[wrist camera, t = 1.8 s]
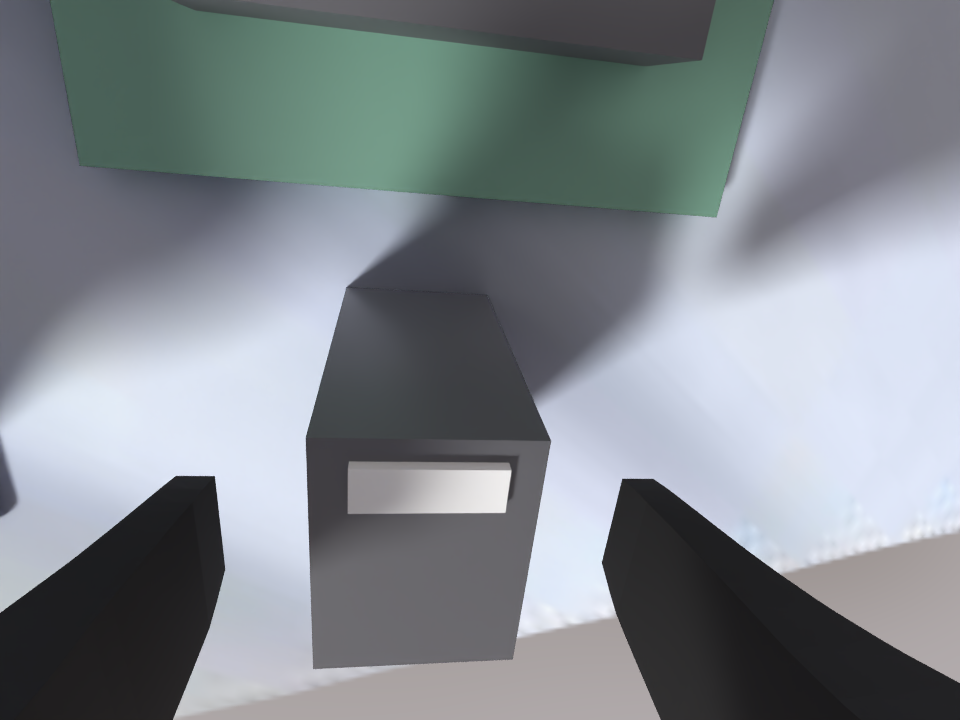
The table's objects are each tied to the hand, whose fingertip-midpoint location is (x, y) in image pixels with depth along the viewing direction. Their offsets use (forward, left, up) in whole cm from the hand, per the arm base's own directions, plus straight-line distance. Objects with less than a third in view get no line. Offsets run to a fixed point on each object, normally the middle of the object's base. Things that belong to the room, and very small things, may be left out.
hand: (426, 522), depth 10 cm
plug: (0, 0, -6) cm, 6 cm away
